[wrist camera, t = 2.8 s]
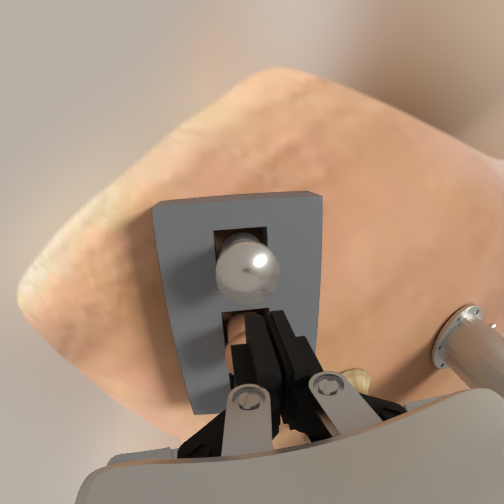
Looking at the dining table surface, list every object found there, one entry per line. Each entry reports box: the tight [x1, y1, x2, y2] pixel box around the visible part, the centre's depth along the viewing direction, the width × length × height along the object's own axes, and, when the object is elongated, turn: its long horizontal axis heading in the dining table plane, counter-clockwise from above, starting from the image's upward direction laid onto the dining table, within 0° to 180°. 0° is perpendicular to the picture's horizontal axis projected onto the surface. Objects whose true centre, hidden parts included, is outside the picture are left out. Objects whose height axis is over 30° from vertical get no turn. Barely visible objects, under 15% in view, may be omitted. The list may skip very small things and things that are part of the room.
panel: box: [152, 191, 322, 415], centre depth 28 cm, size 14×24×4 cm, turn 3°
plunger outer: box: [216, 232, 280, 304], centre depth 22 cm, size 4×4×5 cm
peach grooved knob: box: [225, 312, 260, 375], centre depth 24 cm, size 4×4×5 cm
